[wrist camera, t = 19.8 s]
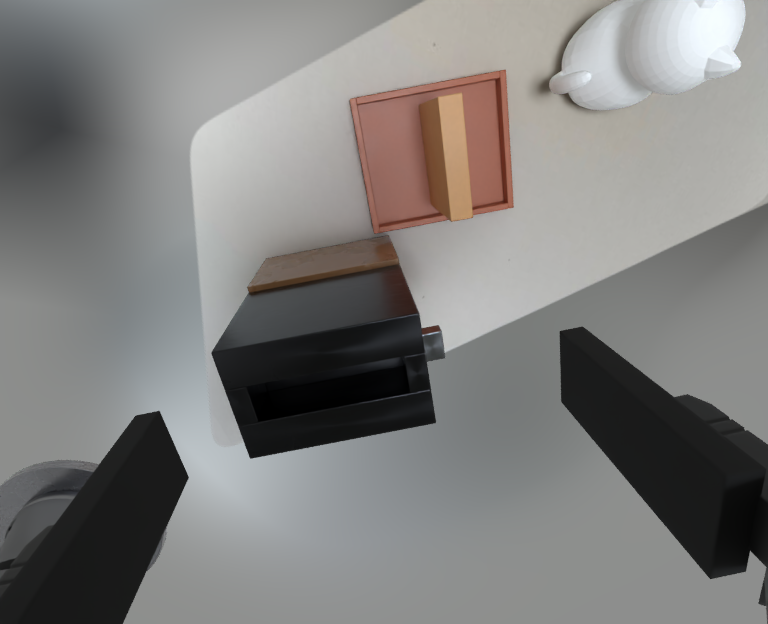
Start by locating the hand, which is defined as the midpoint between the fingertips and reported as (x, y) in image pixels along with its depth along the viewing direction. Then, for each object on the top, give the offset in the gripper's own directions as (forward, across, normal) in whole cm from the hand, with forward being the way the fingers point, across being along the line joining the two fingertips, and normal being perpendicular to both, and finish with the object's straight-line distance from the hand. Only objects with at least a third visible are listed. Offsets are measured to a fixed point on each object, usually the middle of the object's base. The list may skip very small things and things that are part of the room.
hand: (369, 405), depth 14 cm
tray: (+36, +10, +5) cm, 38 cm away
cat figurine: (+36, +27, +10) cm, 46 cm away
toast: (+36, +10, +5) cm, 37 cm away
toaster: (+36, -3, -8) cm, 37 cm away
